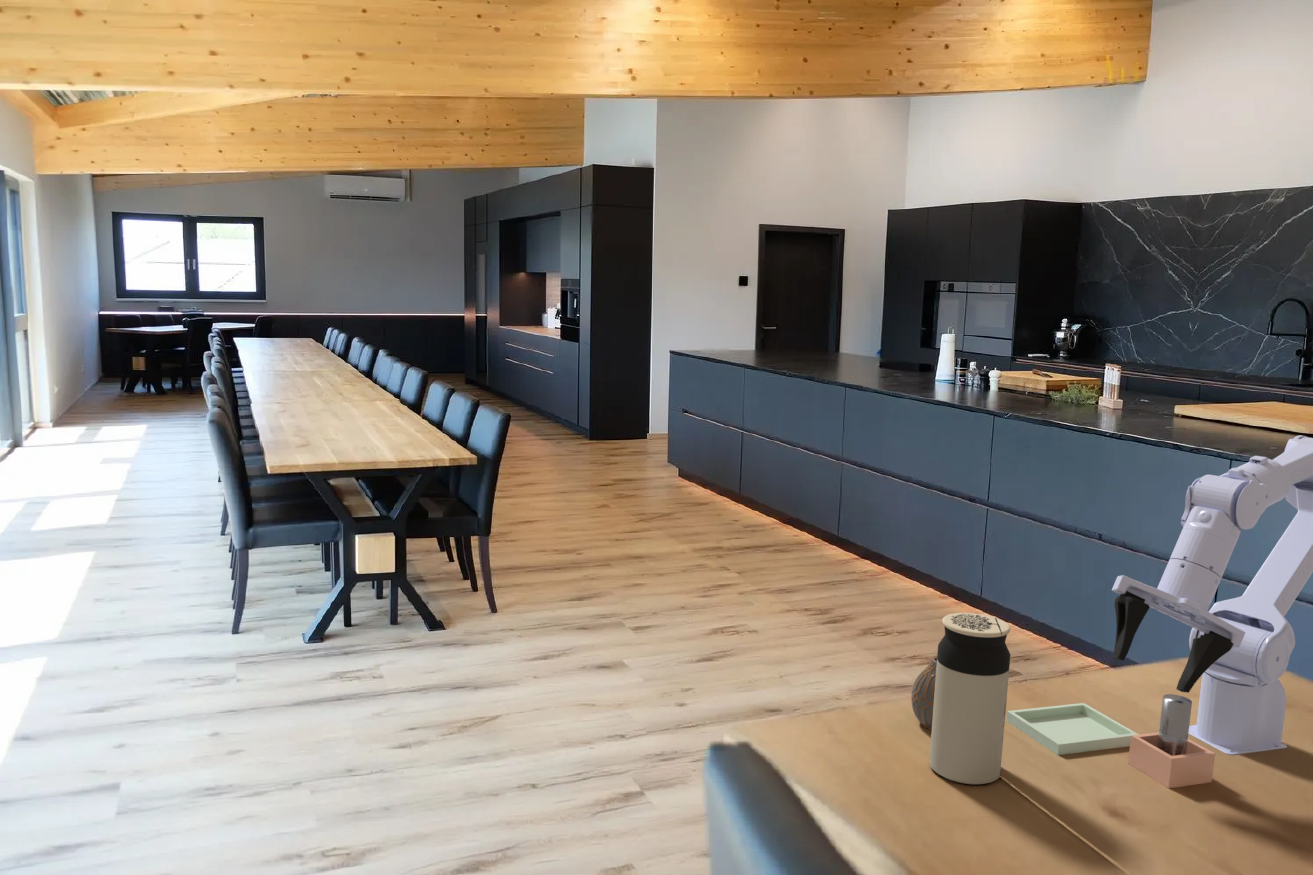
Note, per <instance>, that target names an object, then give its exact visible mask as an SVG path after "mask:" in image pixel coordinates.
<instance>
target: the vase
mask: <svg viewBox="0 0 1313 875" xmlns="http://www.w3.org/2000/svg"><path fill="white" fill-rule="evenodd" d="M936 666H937V656H935V657H932V659H931V661H930V662H929V664H928V665H927V666H926V667H925V668H924V669H923V670H922V671H921V672H920V673H919V674H918V675H917V677H916V679H915V680H914V683H913V685H912V689H911V707H912V711H913V714H914V717H915V718H916V719H917V720H918V721H919V723H920V724H921V725H922V726H923V727H925V728H926V729H929V730H932V720H933V706H934V693H935V680H936Z"/></svg>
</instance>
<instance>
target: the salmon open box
mask: <svg viewBox="0 0 1313 875" xmlns="http://www.w3.org/2000/svg"><path fill="white" fill-rule="evenodd" d="M1138 734H1139V735H1131V740H1130V746H1129V749H1128V750H1129V751H1128V760H1127V764H1128V765H1129V766H1131V767H1133V768H1134V769H1136V770H1138V771H1139V772H1141V773H1143V774H1144V775H1145V776H1147V777H1149V778H1150V779H1152V780H1153V781H1155V782H1157V783H1159V784H1160V785H1162V786H1164V787H1166V789H1175V788H1182V787H1189V786H1190V787H1191V786H1194V785H1195V786H1196V785H1202V784H1209V783H1212V782H1213V776H1214V769H1215V768H1214V767H1215V766H1214V765H1215V759H1216V758H1215V757H1216V753H1215V752H1214V751H1212V750H1210V749H1208V748H1207V747H1205V746H1203V745H1201V744H1199V743H1197V742H1195V741H1194V740H1191V738H1188V742H1187V750H1186V754H1184V755H1176V756H1171V755H1169V754H1167V753H1166V752H1164V751H1162V750H1160V749H1159V748H1157V746H1158V737H1159V731H1157V732H1150V733H1142V734H1141V733H1138Z"/></svg>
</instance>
